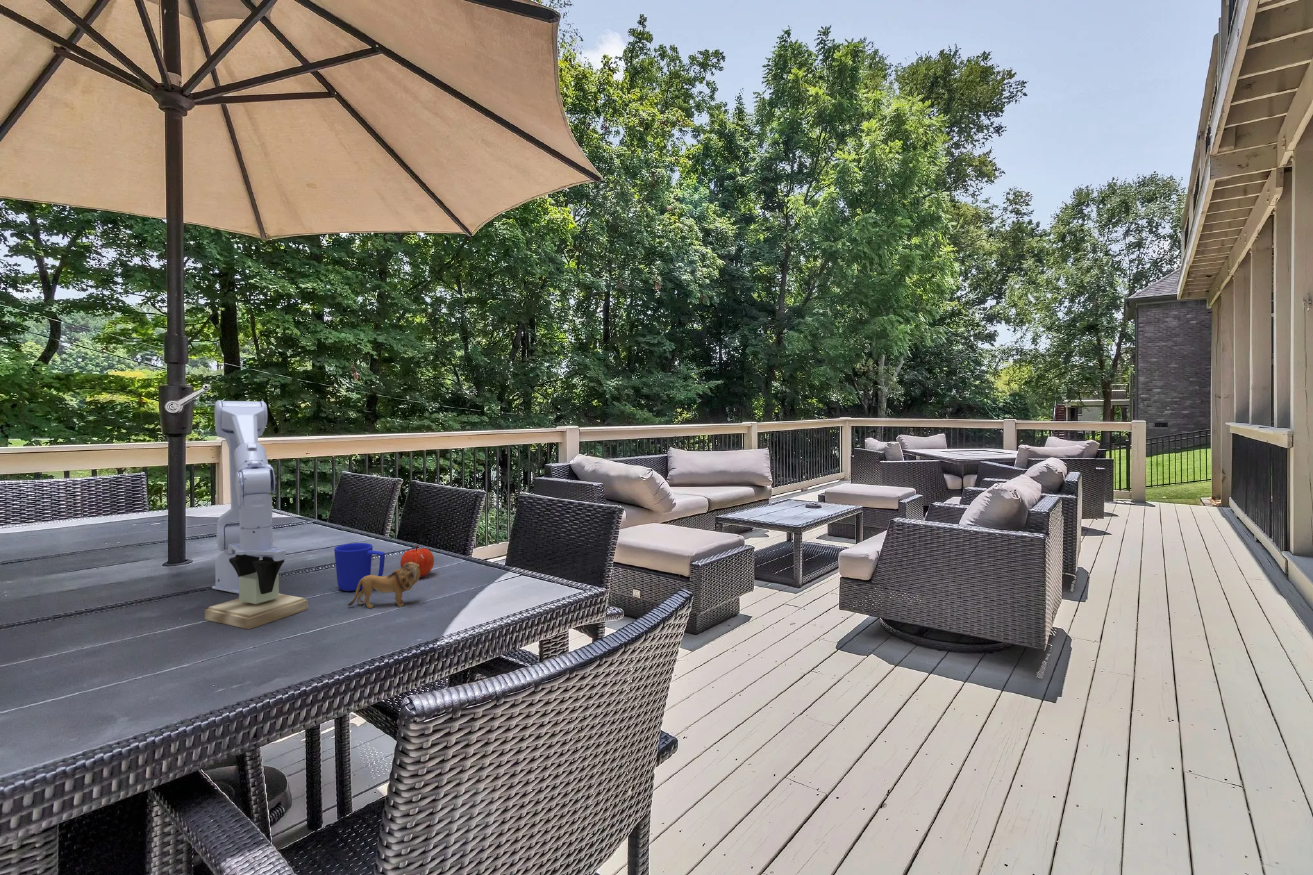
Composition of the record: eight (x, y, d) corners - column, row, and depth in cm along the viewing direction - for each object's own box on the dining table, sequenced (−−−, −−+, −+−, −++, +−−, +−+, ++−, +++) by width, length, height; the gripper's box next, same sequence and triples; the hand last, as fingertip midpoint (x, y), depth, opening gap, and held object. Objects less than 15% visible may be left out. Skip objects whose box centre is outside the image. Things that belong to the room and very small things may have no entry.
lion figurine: (419, 597, 144) (419, 558, 144) (420, 604, 139) (420, 564, 139) (348, 604, 138) (347, 564, 138) (346, 612, 134) (346, 570, 133)
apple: (438, 577, 161) (438, 546, 160) (406, 582, 156) (406, 550, 155) (427, 570, 167) (427, 540, 166) (395, 575, 162) (395, 544, 161)
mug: (372, 596, 145) (372, 553, 144) (326, 591, 147) (326, 549, 146) (394, 585, 153) (394, 545, 152) (350, 582, 155) (350, 541, 154)
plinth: (204, 619, 128) (204, 607, 127) (265, 600, 140) (265, 589, 140) (248, 629, 123) (248, 616, 123) (308, 609, 135) (307, 597, 135)
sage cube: (239, 600, 130) (238, 576, 130) (262, 594, 135) (262, 571, 134) (256, 604, 128) (255, 579, 128) (278, 597, 133) (278, 573, 132)
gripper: (212, 526, 129) (214, 591, 130) (262, 533, 124) (263, 601, 125) (246, 520, 136) (247, 582, 136) (294, 526, 130) (295, 591, 131)
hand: (257, 591), depth 131 cm, fingers closed on sage cube, 5 cm apart
